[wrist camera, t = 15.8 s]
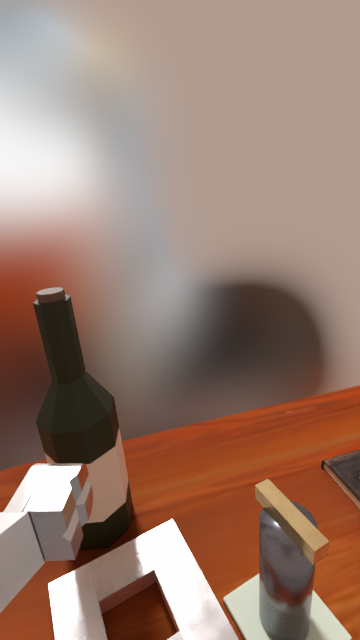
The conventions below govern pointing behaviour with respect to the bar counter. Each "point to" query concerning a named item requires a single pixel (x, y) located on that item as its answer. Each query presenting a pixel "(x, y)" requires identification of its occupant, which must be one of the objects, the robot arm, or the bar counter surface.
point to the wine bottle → (81, 422)
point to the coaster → (243, 606)
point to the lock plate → (139, 589)
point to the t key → (286, 563)
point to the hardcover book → (346, 473)
